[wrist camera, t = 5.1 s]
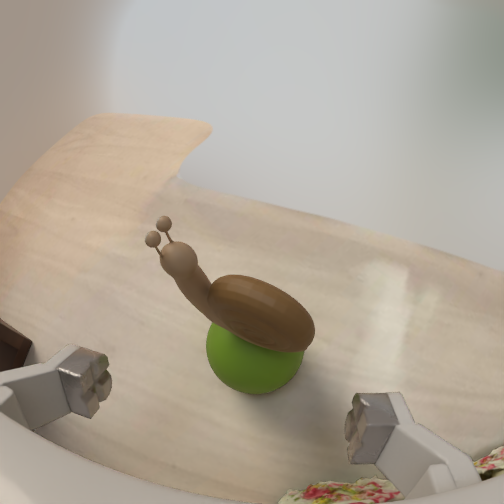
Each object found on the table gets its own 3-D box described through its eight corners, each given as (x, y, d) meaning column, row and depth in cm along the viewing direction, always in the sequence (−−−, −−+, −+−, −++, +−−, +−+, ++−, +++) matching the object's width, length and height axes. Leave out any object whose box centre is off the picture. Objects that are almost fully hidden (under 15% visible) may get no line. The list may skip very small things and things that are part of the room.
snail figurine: (222, 299, 21) (192, 169, 11) (310, 335, 20) (365, 227, 10) (185, 368, 19) (102, 292, 8) (277, 410, 17) (307, 393, 7)
